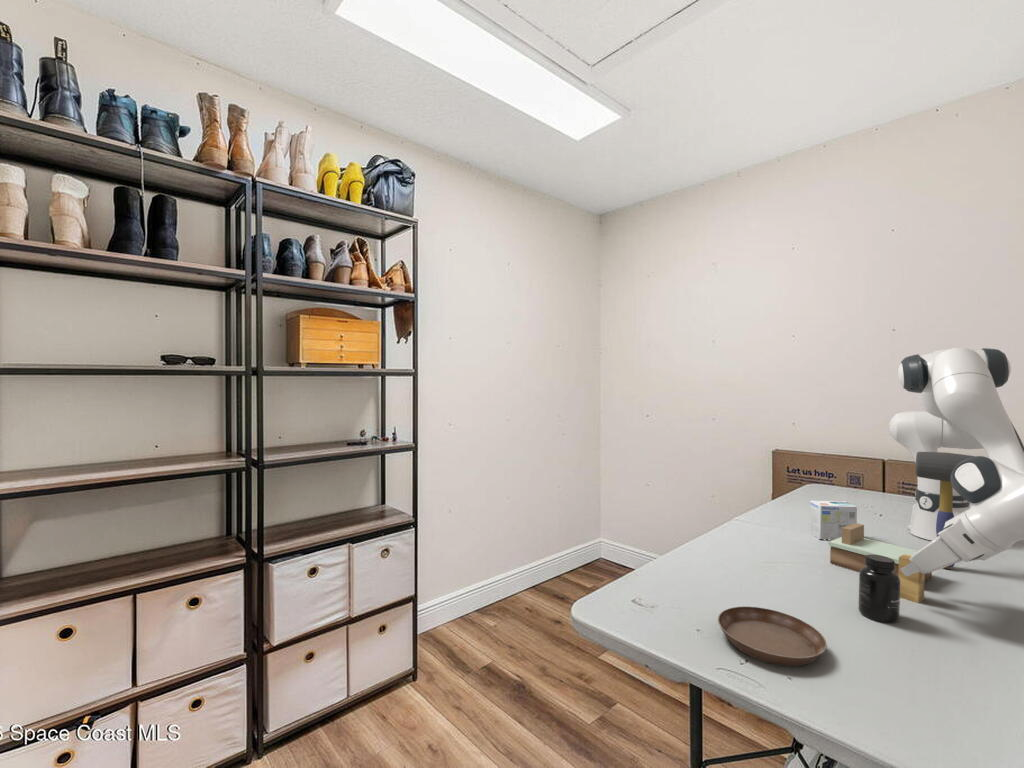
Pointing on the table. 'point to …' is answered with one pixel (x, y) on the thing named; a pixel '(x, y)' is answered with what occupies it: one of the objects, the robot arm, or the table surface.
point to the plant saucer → (772, 635)
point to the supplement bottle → (879, 589)
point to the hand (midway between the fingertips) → (912, 568)
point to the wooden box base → (856, 561)
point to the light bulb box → (831, 518)
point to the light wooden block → (910, 582)
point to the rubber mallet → (940, 469)
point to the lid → (867, 544)
